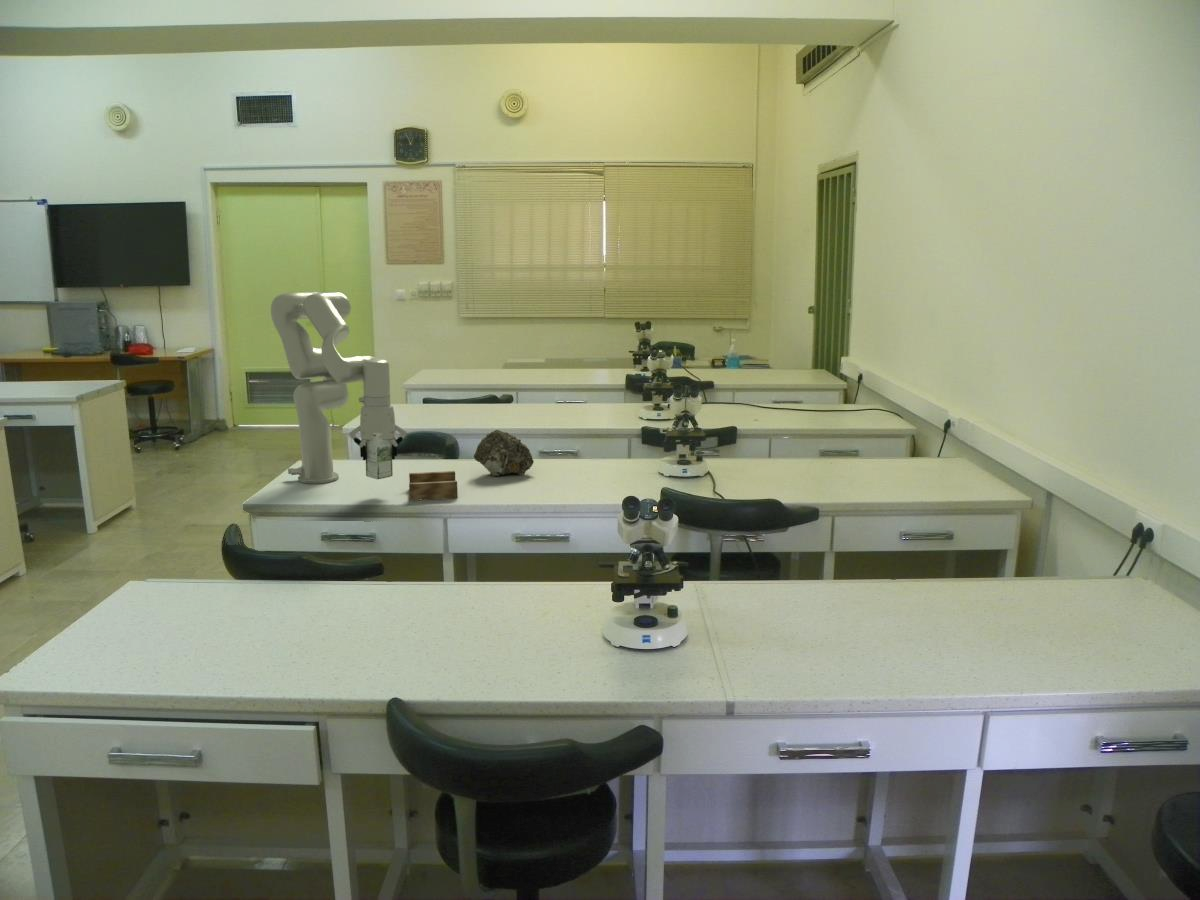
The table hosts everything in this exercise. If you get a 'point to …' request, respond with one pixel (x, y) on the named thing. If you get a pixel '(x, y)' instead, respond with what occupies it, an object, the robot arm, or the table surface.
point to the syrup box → (378, 457)
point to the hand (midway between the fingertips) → (379, 458)
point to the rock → (503, 454)
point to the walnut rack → (432, 485)
